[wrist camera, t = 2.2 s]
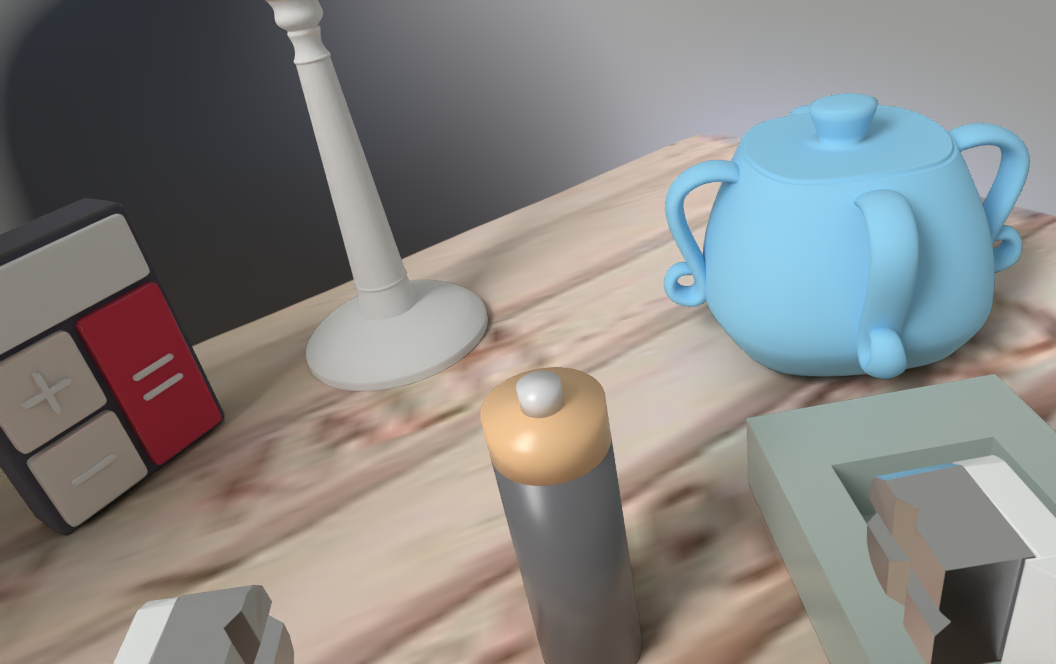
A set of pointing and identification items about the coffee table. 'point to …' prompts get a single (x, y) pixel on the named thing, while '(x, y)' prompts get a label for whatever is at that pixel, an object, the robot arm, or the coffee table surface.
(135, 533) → the coffee table surface
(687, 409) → the coffee table surface
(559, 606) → the battery cell
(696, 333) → the coffee table surface
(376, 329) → the candlestick
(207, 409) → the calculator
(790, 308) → the decorative pot
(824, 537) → the block
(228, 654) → the robot arm
